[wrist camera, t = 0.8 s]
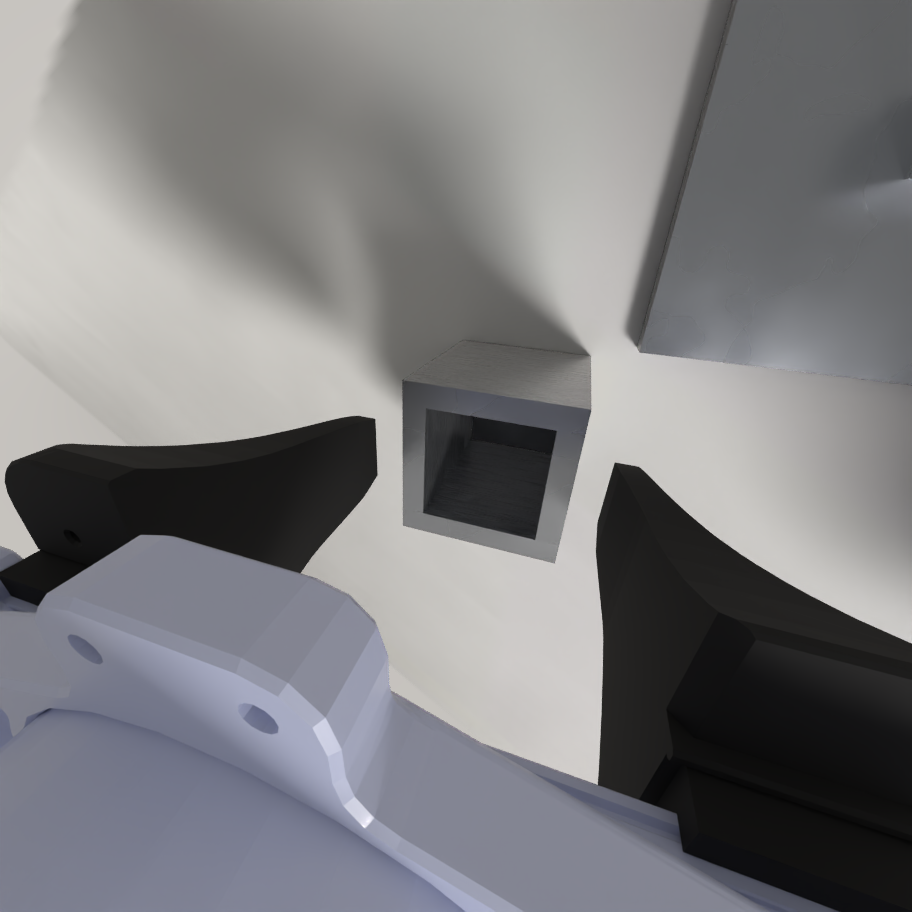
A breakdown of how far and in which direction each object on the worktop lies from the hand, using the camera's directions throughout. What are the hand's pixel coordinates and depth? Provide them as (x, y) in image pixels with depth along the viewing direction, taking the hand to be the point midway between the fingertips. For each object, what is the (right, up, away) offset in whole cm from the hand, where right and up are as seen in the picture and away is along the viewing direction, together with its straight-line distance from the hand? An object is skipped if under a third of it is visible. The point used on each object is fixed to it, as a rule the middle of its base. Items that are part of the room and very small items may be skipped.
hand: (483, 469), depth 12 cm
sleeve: (+2, +2, +5) cm, 6 cm away
